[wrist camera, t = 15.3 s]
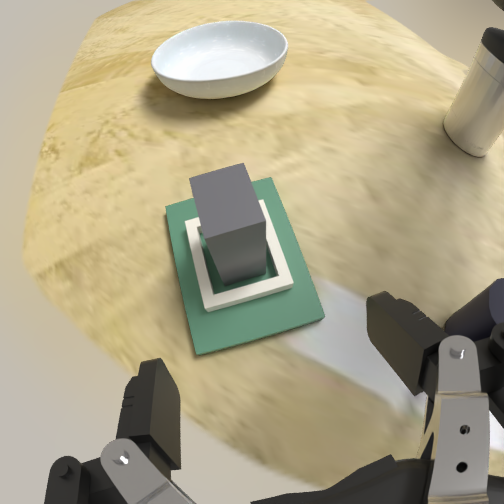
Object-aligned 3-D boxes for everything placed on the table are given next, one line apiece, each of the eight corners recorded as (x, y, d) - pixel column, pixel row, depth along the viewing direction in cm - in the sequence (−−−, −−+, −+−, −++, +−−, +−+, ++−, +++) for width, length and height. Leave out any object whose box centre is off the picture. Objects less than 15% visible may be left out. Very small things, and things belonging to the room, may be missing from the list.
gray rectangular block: (211, 239, 30) (188, 177, 20) (250, 227, 30) (243, 161, 21) (224, 286, 28) (204, 239, 18) (266, 273, 28) (266, 220, 19)
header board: (168, 212, 33) (161, 198, 30) (271, 183, 33) (271, 168, 31) (199, 355, 26) (192, 353, 24) (322, 318, 27) (328, 312, 25)
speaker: (469, 383, 23) (534, 361, 14) (431, 368, 24) (494, 342, 15) (482, 321, 26) (538, 283, 17) (446, 304, 28) (500, 260, 19)
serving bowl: (139, 88, 43) (128, 57, 37) (229, 41, 49) (226, 13, 42) (213, 137, 37) (205, 97, 31) (313, 77, 42) (316, 43, 36)
